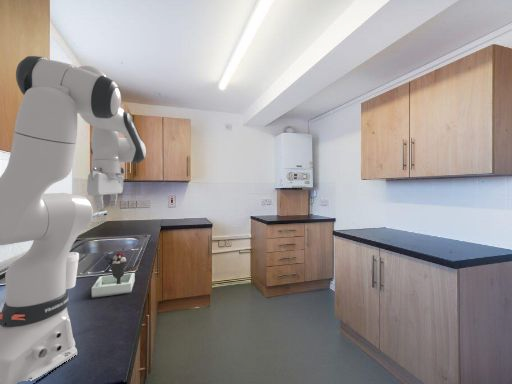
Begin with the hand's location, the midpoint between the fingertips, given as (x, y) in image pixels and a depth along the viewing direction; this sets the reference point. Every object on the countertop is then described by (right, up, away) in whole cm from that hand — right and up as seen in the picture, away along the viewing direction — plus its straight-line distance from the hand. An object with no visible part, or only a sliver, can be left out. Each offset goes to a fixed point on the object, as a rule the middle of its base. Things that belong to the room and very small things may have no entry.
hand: (107, 207), depth 95 cm
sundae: (-1, -32, +9) cm, 34 cm away
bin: (-2, -33, +9) cm, 34 cm away
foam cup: (-23, -33, +11) cm, 42 cm away
